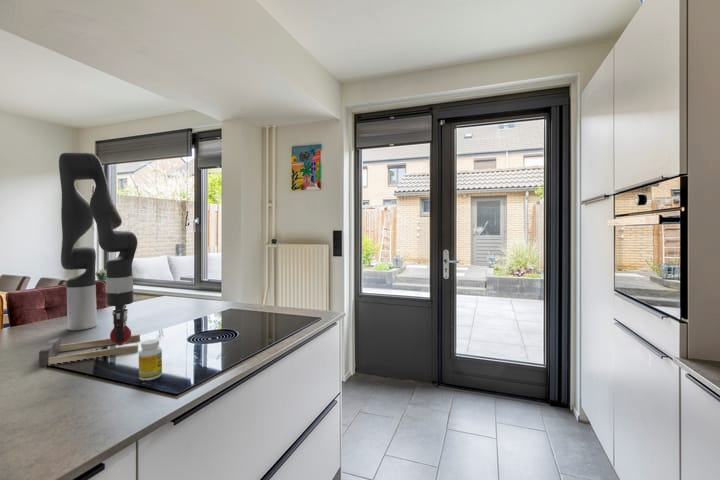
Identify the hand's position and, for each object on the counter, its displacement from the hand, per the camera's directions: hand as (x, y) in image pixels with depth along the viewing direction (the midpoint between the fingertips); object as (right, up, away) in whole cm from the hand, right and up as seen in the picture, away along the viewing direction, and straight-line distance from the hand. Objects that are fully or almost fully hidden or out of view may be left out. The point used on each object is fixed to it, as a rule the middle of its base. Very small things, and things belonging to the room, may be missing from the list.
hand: (120, 339), depth 114 cm
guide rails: (-6, -3, -4) cm, 8 cm away
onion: (0, -2, 0) cm, 2 cm away
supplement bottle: (+24, -4, -23) cm, 34 cm away
